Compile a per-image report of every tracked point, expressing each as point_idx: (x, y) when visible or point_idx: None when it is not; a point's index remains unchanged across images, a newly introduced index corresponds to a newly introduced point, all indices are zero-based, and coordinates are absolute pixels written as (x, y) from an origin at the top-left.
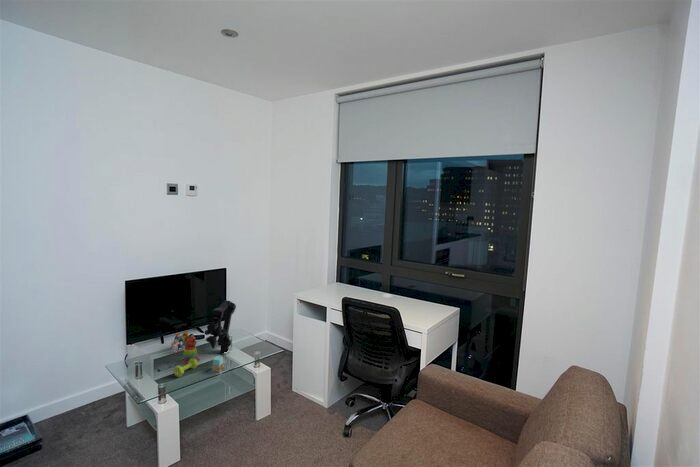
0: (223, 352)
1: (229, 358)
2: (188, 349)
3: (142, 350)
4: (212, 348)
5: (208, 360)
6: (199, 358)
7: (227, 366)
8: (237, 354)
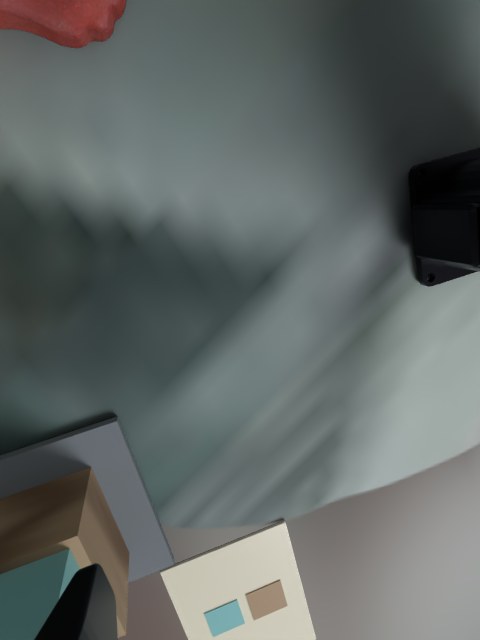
0: (427, 258)
1: (358, 393)
2: None
3: None
4: (77, 577)
5: (174, 202)
6: (94, 27)
7: (201, 521)
8: (469, 390)
